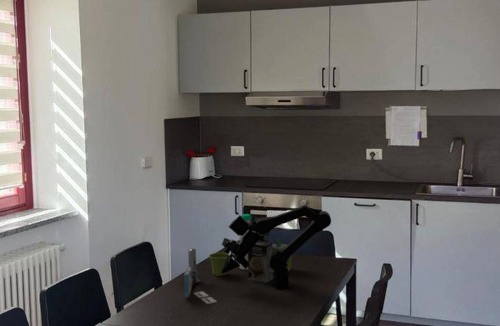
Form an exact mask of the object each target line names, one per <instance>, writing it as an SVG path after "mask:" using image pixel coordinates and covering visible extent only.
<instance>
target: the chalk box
mask: <svg viewBox="0 0 500 326" xmlns="http://www.w3.org/2000/svg"><path fill="white" fill-rule="evenodd" d="M287 245H288V244H286V243H281V239H280V237H277V238H276V239H275V243H273V247H272V253H273V252H275V251H276V249H277V248H278V247H279V249H280V250H281V249H283V248H285V247H286V246H287ZM292 257H293V254H292V255H291V256H290V258H289V259H288V261H287V262H286V263H287V264H288V272H290V271H292V269H293V266H292V264H293V263H292V262H293V258H292ZM272 274H274V270H273V269H272Z"/></svg>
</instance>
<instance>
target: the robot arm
mask: <svg viewBox="0 0 500 326" xmlns="http://www.w3.org/2000/svg"><path fill="white" fill-rule="evenodd" d="M241 215H242V214H241ZM241 215H238V217H236V218H235V219H233V220H232V222H231V223H230V224H229V226H228V228H229V229H230V230H232V232H234V234H236V236H238V237H239V235H240V236H241V235H242V236H243V235H244V234H245V233H246V231H247V230H249V231H248V232H247V233H246V235H245V236H244V237H243V238H242V239H241V240H239V239H238V240H235V239H232V238H231V239H229V238H228V237H227V238H226V237H224V238H223V240H222V243H221V246H223V248H222V251H224V253H227V254H226V262H225V264H224V266H223V268H222V270H221V272H222V273H226V272H227V273H228V272H230V271H232V270H234V269H236V268H240V265H239V264H241V265H242V266H243V267H244V268H245V269H246V268H247V267H248V266H249V262H248V261H247V260H246V259H245V258H244V257H245V256H246V255H247V254H248V252H250V253H251V252H252V250H251V249H252V248H253V246H254V245H255V244H256V243H257V242H265V236H264V235H266V234H267V233H270V232H271V231H273V230H274V229H276V228H277V227H278V226H279V227H280V226H281V225H284V224H286V223H289V222H292V221H295V220H298V219H301V218H303V217H304V218H305V217H306V218H307V219H308V220H309V219H310V221H311V222H310V223H309V225H308V226H306V227H305V229H304V230H303V231H302V232H300V233H299V234H298V235H297V236H296V237H295V238H294V239H293V240H291V241H290V242H289V243H288V244H286V245H287V246H286V247H285V248H283V249H281V250H280V249H279V247H278V248H277V249H276V251H275V252H273V253H271V257H270V263H269V265H270V267H271V269H273V270H274V273H273V277H274V278H273V279H274V283H271V287H273V288H275V289H277V290H283V289H290V288H292V285H290V283H289V281H290V279H289V277H290V276H289V271H288V264H287V263H286V262H287V261H288V259H289V258H290V256H291V255H292V256H293V254H294V253H296V251H298V250H299V249H300V248H301V247H302V246H303V245H304V244H305V243H307V242H308V241H309V240H310V239H312V237H313V236H314V235H316V234H318V233H319V232H323V230H325V229H327V228H329V226H331V224H332V218H331V214H330V213H329V212H327V211H326V210H321V211H320V210H319V209H315V208H312V207H310V206H308V205H306V204H302V205H301V206H299V207H296V208H294V209H292V210H288V211H286V212H284V213H280V214H277V215H274V216H265V217H260V218H258V219H257V220H256V221H250V223H248V222H247V221H246V220H244V219H243V217H242V216H241ZM253 231H254V232H253Z"/></svg>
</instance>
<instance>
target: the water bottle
mask: <svg viewBox="0 0 500 326" xmlns="http://www.w3.org/2000/svg"><path fill="white" fill-rule="evenodd" d="M241 216H242V217H243V219H244V220H246V221H247V222H248V223H250V222H252V214H250V213H243V214H241ZM248 231H249V230H247V231H246V233H247V232H248ZM253 232H255V231H253ZM246 233H245V234H244V235H243V236H242V235H241V236H240V235H239V236H238V240H241V239H242V238H243V237H244V236H245V235H246ZM244 258H245V259H246V260H247V261H248V254H247V255H246V256H245V257H244ZM239 265H240V267H239V269H241V270H243V271H248V267H247V268H246V269H245V268H244V267H243V266H242V265H241V264H239Z"/></svg>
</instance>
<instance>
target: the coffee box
mask: <svg viewBox="0 0 500 326" xmlns="http://www.w3.org/2000/svg"><path fill="white" fill-rule="evenodd" d="M273 244H274V243H273V242H265V241H264V242H261V241H258V242H257V243H256V244H255V245H254V246H253V248H252V249H251V250H252V252H251V253H250V252H248V262H249V266H248V270H247V275H248V276H247V278H248V281H251V282H252V281H253V282H259V283H266V284H267V283H269V282H270V281H272V280H273V273H272V269H271V267H270V265H269V263H270V257H271V253H272V247H273Z"/></svg>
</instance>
